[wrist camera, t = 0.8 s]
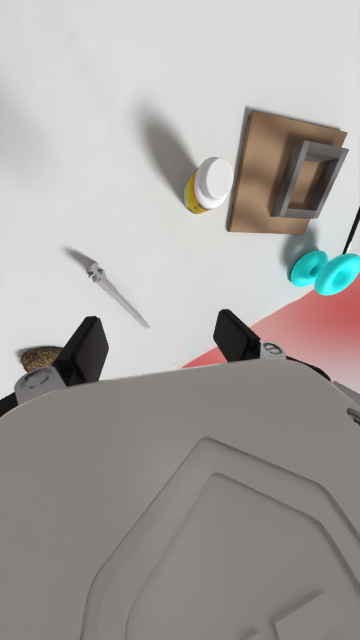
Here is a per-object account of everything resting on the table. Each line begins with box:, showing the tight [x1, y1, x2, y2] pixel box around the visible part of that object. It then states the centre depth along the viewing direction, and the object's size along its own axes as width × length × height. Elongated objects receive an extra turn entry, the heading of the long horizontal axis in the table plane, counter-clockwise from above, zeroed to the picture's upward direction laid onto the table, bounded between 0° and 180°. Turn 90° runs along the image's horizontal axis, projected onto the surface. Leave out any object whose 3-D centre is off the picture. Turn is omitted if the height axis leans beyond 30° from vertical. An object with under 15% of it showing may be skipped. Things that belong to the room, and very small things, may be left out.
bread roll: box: [21, 347, 63, 372], centre depth 38 cm, size 13×12×5 cm
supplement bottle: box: [184, 157, 234, 214], centre depth 22 cm, size 6×6×10 cm
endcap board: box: [228, 111, 349, 234], centre depth 27 cm, size 16×20×4 cm
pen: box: [342, 208, 360, 255], centre depth 36 cm, size 1×19×1 cm, turn 18°
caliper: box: [87, 262, 150, 328], centre depth 32 cm, size 20×1×6 cm, turn 26°
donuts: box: [291, 250, 360, 295], centre depth 36 cm, size 10×10×10 cm
